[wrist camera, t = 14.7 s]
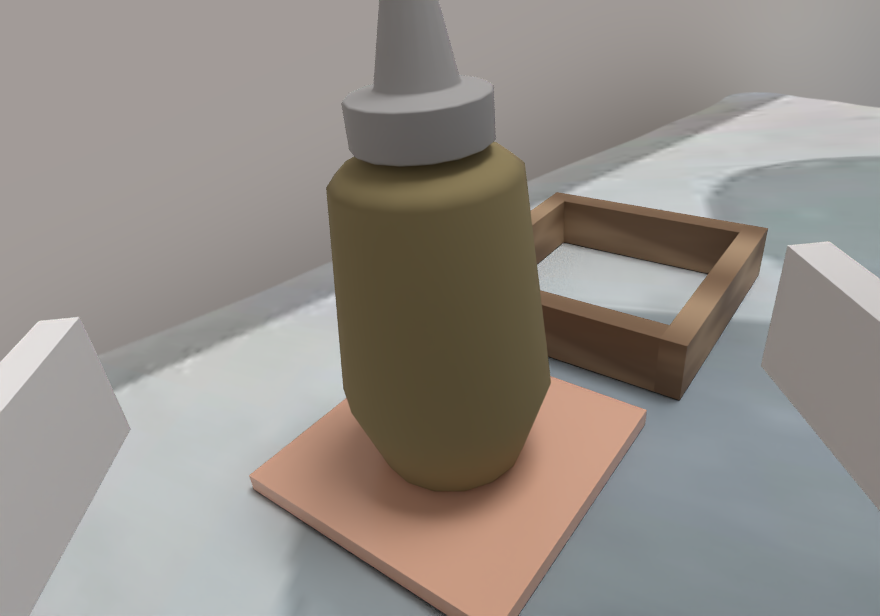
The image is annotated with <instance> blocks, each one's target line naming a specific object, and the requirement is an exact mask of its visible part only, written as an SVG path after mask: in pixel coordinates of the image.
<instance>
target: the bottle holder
mask: <svg viewBox="0 0 880 616" xmlns="http://www.w3.org/2000/svg"><path fill="white" fill-rule="evenodd" d="M531 220H532V228H533V236H534V245H535V253H536V261H537V264H538V263H539V262H540V261H542V260H543V259H544V258H545V257H546V256H548V255H549V254H550V253H551V252H552V251H554V250H555V249H556V248H557V247H558V246H560V245H561V244H562V243H563V242H565V243H570V244H575V245H579V246H584V247H588V248H593V249H598V250H602V251H607V252H611V253H616V254H621V255H625V256H630V257H634V258H639V259H644V260H648V261H653V262H657V263H662V264H666V265H671V266H676V267H680V268H685V269H689V270H694V271H699V272H703V273H708V275H707V276H706V278H705V279H704V280H703V282H702V283H701V284H700V286H699V287H698V288H697V290H696V291H695V292H694V294H693V295H692V296H691V298H690V299H689V300H688V302H687V303H686V304H685V306H684V307H683V308H682V310H681V311H680V312H679V314H678V315H677V316H676V318H675V319H674V320H673V322H672V323H671V324H670V325H666V324H663V323H659V322H655V321H652V320H648V319H644V318H641V317H637V316H633V315H629V314H626V313H622V312H618V311H615V310H611V309H607V308H604V307H600V306H596V305H592V304H589V303H585V302H581V301H578V300H574V299H570V298H567V297H563V296H559V295H556V294H552V293H548V292H544V291H541V290H540V295H541V303H542V312H543V320H544V328H545V337H546V345H547V353H548V356H549V357H552V358H555V359H558V360H561V361H564V362H567V363H570V364H573V365H575V366H578V367H581V368H584V369H587V370H590V371H593V372H596V373H599V374H602V375H605V376H608V377H611V378H614V379H617V380H620V381H623V382H626V383H629V384H632V385H635V386H638V387H641V388H644V389H647V390H650V391H653V392H656V393H659V394H662V395H665V396H668V397H671V398H674V399H677V400H680V399H681V397H682V396H683V394H684V393H685V391H686V389H687V388H688V386H689V385H690V383H691V381H692V380H693V378H694V377H695V375H696V373H697V372H698V370H699V369H700V367H701V366H702V364H703V362H704V361H705V359H706V358H707V356H708V354H709V353H710V351H711V350H712V348H713V346H714V345H715V343H716V342H717V340H718V339H719V337H720V335H721V334H722V332H723V331H724V329H725V327H726V326H727V324H728V323H729V321H730V319H731V318H732V316H733V315H734V313H735V312H736V310H737V308H738V307H739V305H740V304H741V302H742V300H743V299H744V297H745V296H746V294H747V292H748V291H749V289H750V288H751V286H752V285H753V283H754V281H755V280H756V278H757V277H758V275H759V271H760V266H761V261H762V256H763V251H764V246H765V241H766V236H767V231H768V228H763V227H757V226H751V225H745V224H739V223H734V222H728V221H722V220H716V219H710V218H704V217H698V216H693V215H687V214H681V213H675V212H669V211H663V210H658V209H652V208H646V207H640V206H634V205H628V204H622V203H617V202H611V201H605V200H599V199H593V198H587V197H581V196H576V195H570V194H564V193H558V192H557V193H555V194H554V195H552V196H551V197H550V198H548V199H547V200H545V201H544V202H543V203H541V204H540V205H538V206H537V207H536V208H534V209H533V210H531Z"/></svg>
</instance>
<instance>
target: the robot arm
mask: <svg viewBox="0 0 880 616" xmlns="http://www.w3.org/2000/svg"><path fill="white" fill-rule="evenodd" d="M761 366H762V368H763V369H764V370H765V371H766V372H767V374H768V375H769V376H770V377H771V379H772V380H773V381H774V382H775V383H776V385H777V386H778V387H779V388H780V390H781V391H782V392H783V393H784V394H785V396H786V397H787V398H788V399H789V401H790V402H791V403H792V404H793V406H794V407H795V408H796V409H797V410H798V412H799V413H800V414H801V415H802V417H803V418H804V419H805V420H806V421H807V423H808V424H809V425H810V426H811V428H812V429H813V430H814V431H815V432H816V434H817V435H818V436H819V437H820V439H821V440H822V441H823V442H824V443H825V445H826V446H827V447H828V448H829V450H830V451H831V452H832V453H833V454H834V456H835V457H836V458H837V459H838V461H839V462H840V463H841V464H842V465H843V467H844V468H845V469H846V470H847V472H848V473H849V474H850V475H851V477H852V478H853V479H854V480H855V481H856V483H857V484H858V485H859V486H860V488H861V489H862V490H863V491H864V492H865V494H866V495H867V496H868V497H869V499H870V500H871V501H872V502H873V503H874V505H875V506H876V507H877V508H878V510H879V511H880V279H879V278H878V277H877V276H875V275H874V274H873V273H871V272H870V271H869V270H867V269H866V268H864V267H863V266H862V265H860V264H859V263H858V262H856V261H855V260H854V259H852V258H851V257H850V256H848V255H847V254H845V253H844V252H843V251H841V250H840V249H839V248H837V247H836V246H835V245H833V244H832V243H831V242H829V241H828V242H818V243H808V244H798V245H788V246H787V250H786V255H785V259H784V264H783V268H782V273H781V277H780V282H779V286H778V291H777V296H776V300H775V305H774V309H773V314H772V318H771V323H770V327H769V332H768V336H767V341H766V345H765V350H764V354H763V359H762V363H761ZM130 429H131V428H130V426H129V424H128V422H127V420H126V417H125V415H124V413H123V411H122V409H121V406H120V404H119V402H118V400H117V398H116V395H115V393H114V391H113V389H112V387H111V385H110V382H109V380H108V378H107V376H106V374H105V371H104V369H103V367H102V365H101V363H100V360H99V358H98V356H97V354H96V352H95V349H94V347H93V345H92V343H91V341H90V338H89V336H88V334H87V332H86V330H85V327H84V325H83V323H82V321H81V319H80V317H74V318H65V319H54V320H45V321H38V322H37V323H36V324H35V325H34V326H33V328H32V329H31V330H30V331H29V332H28V333H27V334H26V335H25V336H24V337H23V338H22V340H20V342H19V343H18V344H17V345H16V346H15V347H14V348H13V349H12V350H11V351H10V352H9V353H8V355H7V356H6V357H5V358H4V359H3V360H2V361H1V362H0V616H29V615H30V613H31V612H32V610H33V608H34V606H35V604H36V602H37V601H38V599H39V597H40V595H41V593H42V591H43V589H44V588H45V586H46V584H47V582H48V580H49V578H50V577H51V575H52V573H53V571H54V569H55V567H56V566H57V564H58V562H59V560H60V558H61V556H62V555H63V553H64V551H65V549H66V547H67V545H68V543H69V542H70V540H71V538H72V536H73V534H74V532H75V531H76V529H77V527H78V525H79V523H80V521H81V520H82V518H83V516H84V514H85V512H86V510H87V508H88V507H89V505H90V503H91V501H92V499H93V497H94V496H95V494H96V492H97V490H98V488H99V486H100V485H101V483H102V481H103V479H104V477H105V475H106V474H107V472H108V470H109V468H110V466H111V464H112V462H113V461H114V459H115V457H116V455H117V453H118V451H119V450H120V448H121V446H122V444H123V442H124V440H125V439H126V437H127V435H128V433H129V431H130Z"/></svg>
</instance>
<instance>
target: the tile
mask: <svg viewBox="0 0 880 616" xmlns="http://www.w3.org/2000/svg"><path fill="white" fill-rule="evenodd" d="M550 378H551V384H550V387H549V389H548V391H547V394H546V396H545V398H544V400H543V403H542V405H541V407H540V410H539V412H538V414H537V417H536V419H535V421H534V424H533V426H532V428H531V430H530V433H529V435H528V437H527V440H526V442H525V444H524V447H523V449H522V450H521V452H520V454H519V456H518V458H517V460H516V462H515V464H514V466H513V467H512V468H510V469H509V470H508V471H506V472H505V473H504V474H503V475H501V476H500V477H499V478H497V479H496V480H495V481H493V482H491V483H488V484H485V485H482V486H479V487H476V488H473V489H470V490H467V491H432V490H429V489H425V488H422V487H419V486H416V485H413V484H410V483H408V482H407V481H405V480H404V479H403V478H402V477H401V476H400V475H398V474H397V473H396V472H395V471H394V470H393V469H391V468H390V466H389V465H388V464H387V462H386V461H385V459H384V458H383V456H382V455H381V454H380V452H379V451H378V449H377V448H376V447H375V445H374V444H373V442H372V441H371V440H370V438H369V437H368V435H367V434H366V433H365V431H364V430H363V428H362V427H361V426H360V424H359V423H358V421H357V420H356V419H355V417H354V416H353V414H352V413H351V410H350V407H349V404H348V401H347V398H346V399H345V400H343V401H342V402H341V403H340V404H338V405H337V406H336V407H335V408H333V409H332V410H331V411H330V412H328V413H327V414H326V415H325V416H323V417H322V418H321V419H319V420H318V421H317V422H316V423H314V424H313V425H312V426H311V427H309V428H308V429H307V430H306V431H304V432H303V433H302V434H301V435H299V436H298V437H297V438H296V439H294V440H293V441H292V442H291V443H289V444H288V445H287V446H286V447H284V448H283V449H282V450H281V451H279V452H278V453H277V454H276V455H274V456H273V457H272V458H270V459H269V460H268V461H267V462H265V463H264V464H263V465H262V466H260V467H259V468H258V469H257V470H255V471H254V472H253V473H252V474H250V475H249V477H250V479H251V482H252V485H253V488H254V490H256V491H257V492H259V493H261V494H262V495H264V496H265V497H267V498H268V499H270V500H271V501H273V502H274V503H276V504H277V505H279V506H280V507H282V508H284V509H285V510H287V511H288V512H290V513H291V514H293V515H294V516H296V517H297V518H299V519H300V520H302V521H303V522H305V523H307V524H308V525H310V526H311V527H313V528H314V529H316V530H317V531H319V532H320V533H322V534H323V535H325V536H326V537H328V538H330V539H331V540H333V541H334V542H336V543H337V544H339V545H340V546H342V547H343V548H345V549H346V550H348V551H349V552H351V553H353V554H354V555H356V556H357V557H359V558H360V559H362V560H363V561H365V562H366V563H368V564H369V565H371V566H372V567H374V568H376V569H377V570H379V571H380V572H382V573H383V574H385V575H386V576H388V577H389V578H391V579H392V580H394V581H395V582H397V583H399V584H400V585H402V586H403V587H405V588H406V589H408V590H409V591H411V592H412V593H414V594H415V595H417V596H418V597H420V598H422V599H423V600H425V601H426V602H428V603H429V604H431V605H432V606H434V607H435V608H437V609H438V610H440V611H441V612H443V613H444V614H446V615H448V616H518V615H519V613H520V612H521V610H522V609H523V607H524V606H525V604H526V603H527V601H528V600H529V598H530V597H531V595H532V594H533V592H534V591H535V589H536V588H537V586H538V585H539V583H540V582H541V580H542V579H543V577H544V576H545V574H546V573H547V571H548V570H549V568H550V567H551V565H552V564H553V562H554V561H555V559H556V558H557V556H558V555H559V553H560V552H561V550H562V549H563V547H564V546H565V544H566V542H567V541H568V539H569V538H570V536H571V535H572V533H573V532H574V530H575V529H576V527H577V526H578V524H579V523H580V521H581V520H582V518H583V517H584V515H585V514H586V512H587V511H588V509H589V508H590V506H591V505H592V503H593V502H594V500H595V499H596V497H597V496H598V494H599V493H600V491H601V490H602V488H603V487H604V485H605V484H606V482H607V481H608V479H609V478H610V476H611V475H612V473H613V472H614V470H615V469H616V467H617V466H618V464H619V463H620V461H621V460H622V458H623V457H624V455H625V454H626V452H627V451H628V449H629V448H630V446H631V445H632V443H633V442H634V440H635V439H636V437H637V436H638V434H639V433H640V431H641V430H642V428H643V427H644V425H645V421H646V411H647V410H645V409H642V408H639V407H636V406H633V405H631V404H628V403H625V402H622V401H619V400H616V399H614V398H611V397H608V396H605V395H602V394H599V393H597V392H594V391H591V390H588V389H585V388H582V387H579V386H577V385H574V384H571V383H568V382H565V381H562V380H560V379H557V378H554V377H551V376H550Z"/></svg>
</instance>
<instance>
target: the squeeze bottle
mask: <svg viewBox="0 0 880 616" xmlns="http://www.w3.org/2000/svg"><path fill="white" fill-rule="evenodd" d="M342 110H343V116H344V121H345V128H346V134H347V139H348V145H349V150H350V151H351V152H352V154H353V155H354V157H352V158H351V159H349V160H347V161H346V162H345V163H344V164H343V165H342V166H341V167H340V169H339V170H338V171H337V172H336V173H335V175H334V176H333V178H332V180H331V181H330V183H329V184H328V186H327V188H326V190H327V201H328V213H329V225H330V237H331V249H332V260H333V272H334V284H335V296H336V307H337V319H338V331H339V343H340V354H341V366H342V378H343V389H344V392H345V395H346V398H347V401H348V404H349V407H350V410H351V413H352V414H353V416H354V417H355V419H356V420H357V421H358V423H359V424H360V426H361V427H362V428H363V430H364V431H365V433H366V434H367V435H368V437H369V438H370V440H371V441H372V442H373V444H374V445H375V447H376V448H377V449H378V451H379V452H380V454H381V455H382V456H383V458H384V459H385V461H386V462H387V464H388V465H389V466H390V468H391V469H393V470H394V471H395V472H396V473H397V474H398V475H400V476H401V477H402V478H403V479H404V480H405V481H407V482H408V483H410V484H413V485H416V486H419V487H422V488H425V489H429V490H432V491H467V490H470V489H473V488H476V487H479V486H482V485H485V484H488V483H491V482H493V481H495V480H496V479H497V478H499V477H500V476H501V475H503V474H504V473H505V472H506V471H508V470H509V469H510V468H512V467H513V466H514V464H515V462H516V460H517V458H518V456H519V454H520V452H521V450H522V449H523V447H524V444H525V442H526V440H527V437H528V435H529V433H530V430H531V428H532V426H533V424H534V421H535V419H536V417H537V414H538V412H539V410H540V407H541V405H542V403H543V400H544V398H545V396H546V394H547V391H548V389H549V387H550V384H551V378H550V370H549V362H548V353H547V345H546V337H545V328H544V320H543V312H542V303H541V295H540V287H539V278H538V270H537V261H536V253H535V245H534V236H533V228H532V220H531V211H530V203H529V195H528V186H527V179H526V171H525V163H524V162H523V161H522V160H520V159H519V158H518V157H517V156H515V155H514V154H513V153H511V152H510V151H508V150H507V149H505V148H504V147H502V146H501V145H499V144H498V143H496V142H494V141H495V139H496V138H495V137H496V135H495V109H494V86H493V84H492V83H490V82H489V81H486V80H484V79H482V78H479V77H472V76H465V75H459V72H458V69H457V65H456V62H455V58H454V55H453V51H452V47H451V43H450V40H449V36H448V33H447V29H446V25H445V22H444V18H443V15H442V11H441V7H440V4H439V0H379V12H378V27H377V43H376V58H375V73H374V84H372V85H368V86H365V87H362V88H360V89H358V90H355V91H353V92H351V93H349V94H348V95H347V97H346V98H345V99H344V100H343V102H342Z"/></svg>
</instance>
